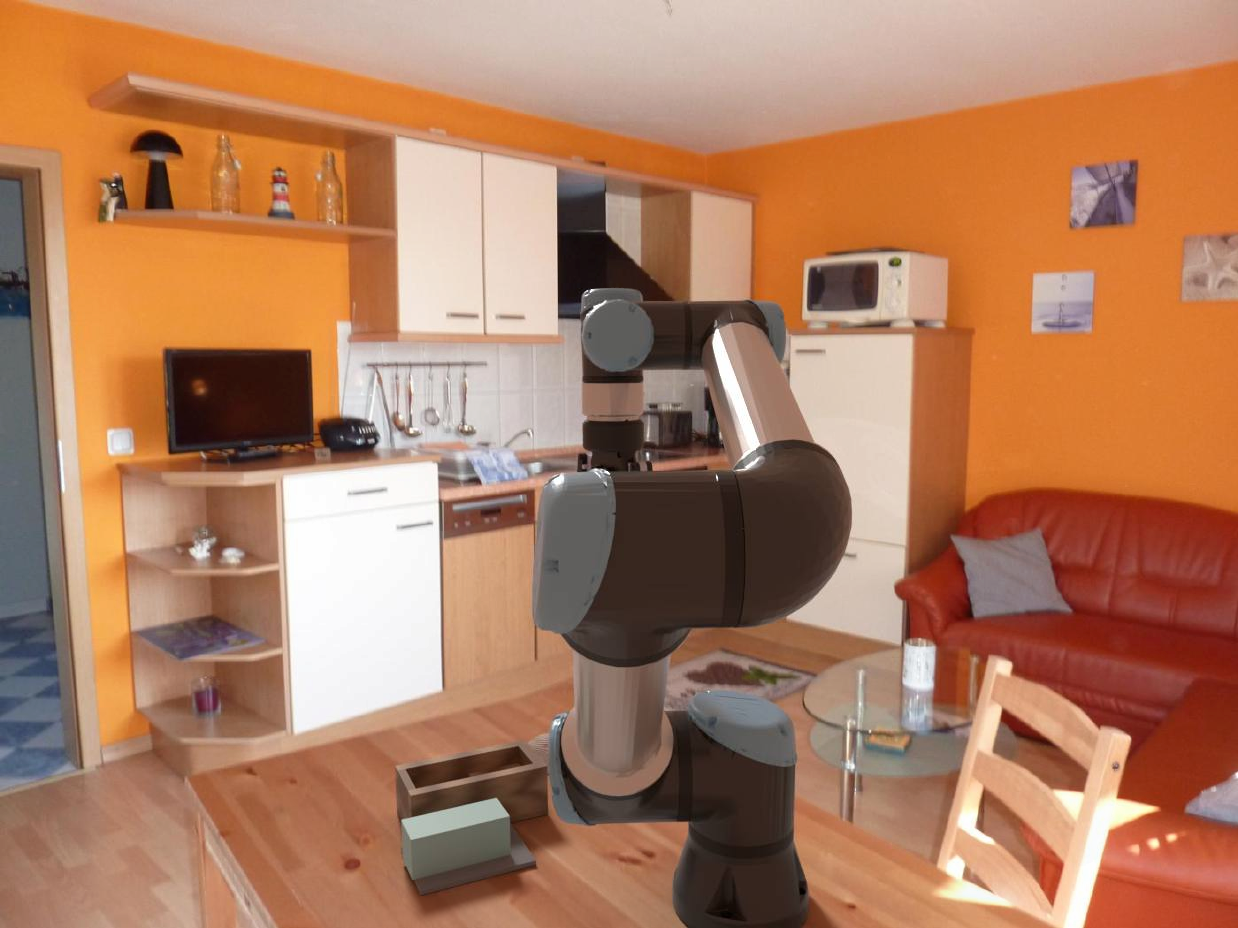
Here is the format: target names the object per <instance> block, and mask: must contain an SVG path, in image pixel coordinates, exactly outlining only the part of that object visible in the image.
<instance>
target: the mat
mask: <svg viewBox="0 0 1238 928" xmlns="http://www.w3.org/2000/svg"><path fill="white" fill-rule="evenodd" d="M510 847H511V855H507V856H503V857H500V858H496V859H492V860H488V861H484V862H481V863H477V864H473V865H469V866H465V867H461V868H458V869H454V870H450V871H446V872H442V873H438V874H435V875H431V876H427V877H423V878H419V879H415V880H413V882H414V884H415V886H416V889H417V891H418V893H419V896H424V895H427V894H431V893H435V892H439V891H442V890H446V889H451V888H455V887H457V886H462V885H466V884H470V883H474V882H476V881H481V880H485V879H488V878H492V877H497V876H498V875H499V876H500V875H503V874H507V873H510V872H514V871H515V872H516V871H518V870H522V869H527V868H530V867H533V866H536V865H537V860H536V858H535V857H534V856H533V854H532V852H531V851H530V849H529V848H528V847H527V845H526V844H525V842H524V841H523V840H522V838H521V836H520V834H519V833H518V832H517V831H516V829H515V828H514V826H513V825H512V823H510ZM400 850H401V854H402V855H403V853H402V846H401V848H400Z"/></svg>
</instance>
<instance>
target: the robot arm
mask: <svg viewBox="0 0 1238 928" xmlns="http://www.w3.org/2000/svg"><path fill="white" fill-rule="evenodd" d="M643 298H644V297H643V294H642V293H641V291H639V290H637V289H634V288H623V287H621V288H619V287H615V288H614V287H611V288H605V287H604V288H593V289H588V290H586V291H584V292H583V293H582V295H581V308H580V309H581V310H580V312H579V313H580V317H579V318H580V342H581V343H580V344H581V345H580V346H581V366H582V367H581V369H582V377H581V414H583V416H586V419H585V420H583V422H582V447H583V449H584V451H588V452H579V453H578V455H577V469H576V471H575V472H574V471H573V472H561V473H558V474H555V475H553V476H552V477H550V478H549V479H548V480H547V481H546V482H545V483H544V485H543V487H542V488H541V492H540V496H539V502H538V509H537V515H536V516H537V517H536V534H535V535H536V536H535V542H534V551H533V565H532V585H531V586H532V587H531V588H532V589H531V615H532V619H533V624H534V625H535V626H536V628H538V629H539V630H540V631H544V632H552V633H553V634H556V635H560V637H561V639H562V640H563V641H564V643H565V644H566V645H567V646H568V647H569V648H570V649H571V651H572V665H573V666H572V669H573V673H572V674H573V675H572V677H573V694H574V695H573V700H574V705H573V707H572V708H571V709H570V710H568V711H566V712H562V713H558V714H556V715H555V716H554V717H553V719H552V721H551V722H550V723H551V724H550V727H549V731H548V733H549V742H548V765H549V774H548V778H549V780H548V781H549V783H550V788H551V789H550V790H551V793H550V794H551V802H552V805H553V808H554V811H555V814H556V816H558V818H559V819H560V820H561V821H562V822H564V823H565V824H569V825H571V824H572V825H583V826H584V827H594V826H596V825H604V824H605V825H606V824H607V825H608V824H609V825H610V824H611V825H613V824H644V823H646V824H648V823H651V824H652V823H653V824H654V823H688V824H687V827H688V829H687V830H688V831H687V832H688V833H687V836H686V839H685V841H684V845H683V847H682V850H681V855H680V856H679V861H678V864H677V867H676V869H675V870H674V873H673V877H672V886H671V887H672V888H671V889H672V890H671V891H672V895H671V896H672V905H673V908H674V911H675V912H676V914H677V916H678V917H679V919H680V920H681V921H682V922H683V923H685V924H686V925H687V926H688V927H689V928H801V927H802V926H803V924H804V923H805V922H806V920H807V918H808V915H809V901H810V899H809V895H810V891H809V885H808V882H807V878H806V875H805V872H804V869H803V866H802V863H801V860H800V856H799V853H798V850H797V847H796V844H795V841H794V838H795V837H794V836H795V803H796V802H795V801H796V800H795V799H796V797H795V795H796V791H795V790H796V764H797V762H798V753H797V746H796V731H795V725H794V722H793V719H791V717H790V715H789V714H788V713H787V712H786V711H785V710H784V709H783V708H782V707H780V706H779V705H777V704H775V702H772V701H770V700H768V699H765V698H763V697H761V696H757V695H754V694H751V693H747V692H743V691H736V690H729V689H727V690H726V689H710V690H705V692H697V693H695V694H694V695H693V696H691V698H690V699H689V702H688V704H687V705H686V706H687V707H686V708H687V709H686V710H664V708H665V701H666V693H667V685H668V678H669V671H670V663H671V657H672V654H674V653H675V652H676V651H677V650H679V648H681V646H682V645H683V644H684V643H685V641H686V640H687V638H688V637H689V635H690V633H691V631H692V629H698V630H700V629H701V630H703V629H725V628H727V629H728V628H729V629H730V628H732V629H735V628H736V629H739V628H740V629H741V628H743V629H744V628H756V627H760V626H765V625H766V626H767V625H768V624H773V623H775V622H778V621H780V620H782V619H785V618H787V617H788V616H791V615H792V614H794V613H795V612H798V611H799V610H800V609H802V608H803V607H805V606H806V605H807V604H808V603H810V602H811V601H812V600H813V599H814V598H815V597H816V596H817V595H819V594H820V592H821V591H822V590H823V588H825V586H826V585H827V584H828V582H830V580H831V579H832V577H833V576H834V575H835V572H836V571H837V569H838V568H839V565H840V563H841V561H842V559H843V557H844V555H845V554H846V550H847V549H848V544H849V540H850V535H851V531H852V527H853V507H852V506H853V505H852V496H851V492H850V487H849V485H848V483H847V480H846V478H845V476H844V473H843V471H842V469H841V467H840V465H839V463H838V461H837V459H836V458H835V457H834V456H833V454H832V453H831V452H830V451H829V450H828V449H826V448H825V447H823V446H822V445H821V444H819V443H816V442H815V440H814V438H813V436H812V433H811V430H810V429H809V426H808V425H807V422H806V420H805V418H804V416H803V413H802V411H801V409H800V407H799V405H798V402H797V400H796V397H795V395H794V393H793V391H792V389H791V386H790V384H789V382H788V380H787V377H786V375H785V372H784V370H783V368H782V366H781V364H782V362H783V360H784V357H785V353H786V346H787V345H786V344H787V325H786V321H785V314H784V313H785V312H784V310H783V309H782V307H781V306H780V304H779V303H776V302H774V301H763V300H754V299H748V298H747V299H742V300H699V301H698V300H697V301H696V300H695V301H692V300H691V301H688V300H687V301H686V300H683V301H679V300H674V301H673V300H672V301H671V300H668V301H667V300H666V301H664V300H663V301H662V300H660V301H659V300H657V301H656V300H653V301H652V300H649V301H648V300H647V301H646V300H645V301H644V300H643ZM672 370H675V371H676V370H677V371H689V370H690V371H697V370H698V371H703V372H704V374H705V379H706V383H707V387H708V390H709V393H710V398H711V402H712V406H713V409H714V413H715V417H716V420H717V423H718V428H719V431H720V432H719V433H720V436H721V439H722V443H723V446H724V447H723V448H724V451H725V454H726V458H727V461H728V466H729V469H724V470H723V469H717V470H716V469H691V470H690V469H686V470H685V469H683V470H654V469H653V463H652V462H651V460H648V461H647V460H646V461H638V462H637V458H636V453H637V451H641V450H642V449H643V448H644V446H645V422H644V421H643V420H642V419H640V418H639V416H641V415H642V414H644V395H645V392H644V371H672Z"/></svg>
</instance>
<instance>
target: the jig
mask: <svg viewBox="0 0 1238 928" xmlns="http://www.w3.org/2000/svg"><path fill="white" fill-rule="evenodd" d="M528 743H529V742H527V741H526V740H525V739H521V740H520V739H519V740H517V741H512V742H507V743H500V744H497V745H491V746H488V747H482V748H477V749H472V750H471V749H470V750H467V751H462V752H457V753H452V754H451V753H450V754H447V755H443V756H438V757H433V758H426V759H423V760H422V759H421V760H417V761H413V762H408V763H403V764H398V765H394V769H395V770H394V771H395V772H394V773H395V789H396V790H395V791H396V795H395V796H396V813H397V816H398V819H399V821H400V822H401V820H403V819H407V818H412V817H416V816H420V815H424V814H429V813H433V812H437V811H442V810H446V809H450V808H455V807H459V806H463V805H468V804H472V803H476V802H481V801H485V800H489V799H494V798H497V799H498V800H499V802H500V803H501V805H502V806H503V807H504V809H505V810H506V812H507V813H508V814H509V816H510V823H511V824H514V823H517V822H518V823H519V822H521V821H522V822H523V821H526V820H530V819H535V818H537V817H543V816H546V815H549V798H548V797H549V791H548V789H549V788H548V787H549V786H548V781H549V780H548V778H549V777H548V774H547V765H546V764H545V763H544V762H543V761H542V759H541V758H540V757H539V756H538V755H537V754H536V753H535V751H534V750H533V749H532V748H531V747H530V746H529V745H528Z"/></svg>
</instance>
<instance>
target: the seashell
mask: <svg viewBox="0 0 1238 928" xmlns="http://www.w3.org/2000/svg"><path fill="white" fill-rule="evenodd" d="M548 742H549V732H547V733H542V734H539V735H537V736H535V737H533V738H532V739H531V740H530V741H529V742H527V743H528V745H529V746H530V747H531V748H532V749H533V750H534V751H535V753H536V754H537V755H538V756H539V757H540V758H541V759H542V761H543V762H544V763H545V764H546V765H547V775H549V765H548Z"/></svg>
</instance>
